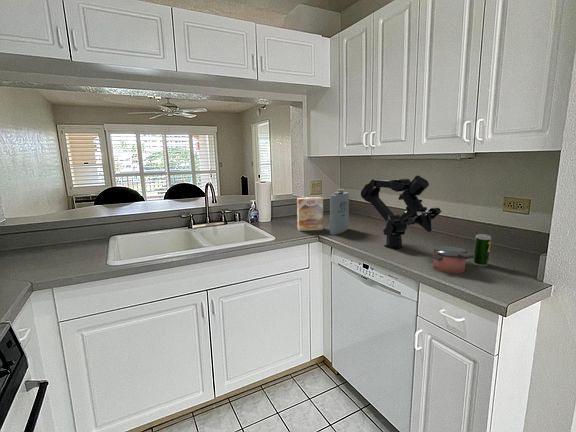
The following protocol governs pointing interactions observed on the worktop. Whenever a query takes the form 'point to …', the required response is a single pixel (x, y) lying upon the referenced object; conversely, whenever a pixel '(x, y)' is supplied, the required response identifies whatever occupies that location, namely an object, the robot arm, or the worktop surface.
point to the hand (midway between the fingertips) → (430, 231)
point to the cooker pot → (449, 263)
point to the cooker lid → (452, 252)
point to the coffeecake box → (310, 213)
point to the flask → (339, 212)
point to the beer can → (482, 249)
